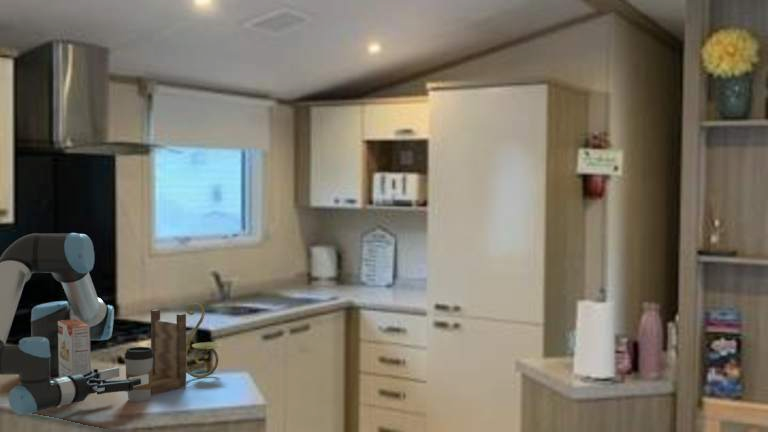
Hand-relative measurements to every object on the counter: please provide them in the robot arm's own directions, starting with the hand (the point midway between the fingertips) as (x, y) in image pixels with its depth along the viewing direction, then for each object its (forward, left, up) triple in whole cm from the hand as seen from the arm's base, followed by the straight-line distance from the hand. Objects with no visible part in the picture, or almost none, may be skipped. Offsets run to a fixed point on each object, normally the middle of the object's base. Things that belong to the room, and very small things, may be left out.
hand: (133, 375), depth 245 cm
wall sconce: (-7, +32, -8) cm, 33 cm away
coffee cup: (-1, +3, -8) cm, 8 cm away
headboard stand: (-9, +15, -8) cm, 19 cm away
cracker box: (-26, -2, -8) cm, 27 cm away
